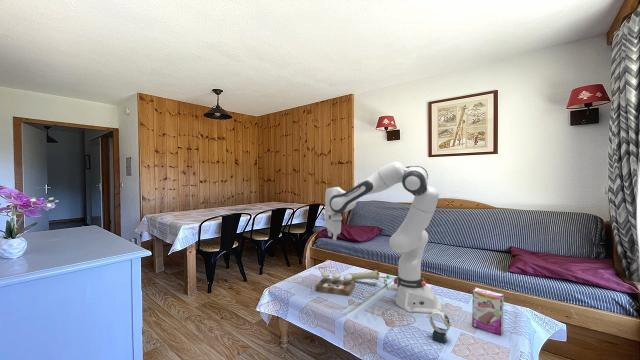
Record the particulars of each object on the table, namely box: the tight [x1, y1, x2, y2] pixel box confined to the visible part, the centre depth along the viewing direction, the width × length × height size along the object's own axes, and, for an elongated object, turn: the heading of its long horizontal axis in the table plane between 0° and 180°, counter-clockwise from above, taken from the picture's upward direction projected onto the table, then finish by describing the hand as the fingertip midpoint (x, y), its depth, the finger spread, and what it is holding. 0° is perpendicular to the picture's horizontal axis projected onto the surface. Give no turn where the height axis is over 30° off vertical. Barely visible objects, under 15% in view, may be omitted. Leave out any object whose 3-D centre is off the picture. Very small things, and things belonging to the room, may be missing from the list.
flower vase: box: [347, 269, 399, 290], centre depth 170 cm, size 12×12×35 cm
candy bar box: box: [471, 287, 505, 336], centre depth 123 cm, size 11×5×16 cm, turn 48°
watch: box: [428, 310, 452, 344], centre depth 116 cm, size 6×8×11 cm
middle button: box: [331, 272, 342, 280], centre depth 169 cm, size 5×5×2 cm
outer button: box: [320, 270, 330, 279], centre depth 171 cm, size 5×5×2 cm
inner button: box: [343, 273, 352, 280], centre depth 166 cm, size 5×5×2 cm
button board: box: [315, 277, 356, 297], centre depth 167 cm, size 20×14×4 cm
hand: (332, 238), depth 163 cm, fingers open, 8 cm apart
